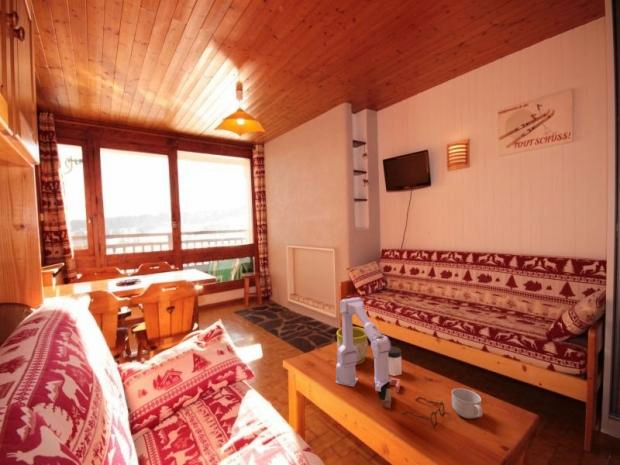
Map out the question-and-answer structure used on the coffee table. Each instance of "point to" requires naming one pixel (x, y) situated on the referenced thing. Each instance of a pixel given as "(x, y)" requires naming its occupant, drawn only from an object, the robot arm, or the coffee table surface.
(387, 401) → the beige rectangular block
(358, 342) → the flowerpot
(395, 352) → the jar
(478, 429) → the coffee table surface
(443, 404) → the glasses
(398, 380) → the end cap
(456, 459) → the coffee table surface
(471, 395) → the teacup
